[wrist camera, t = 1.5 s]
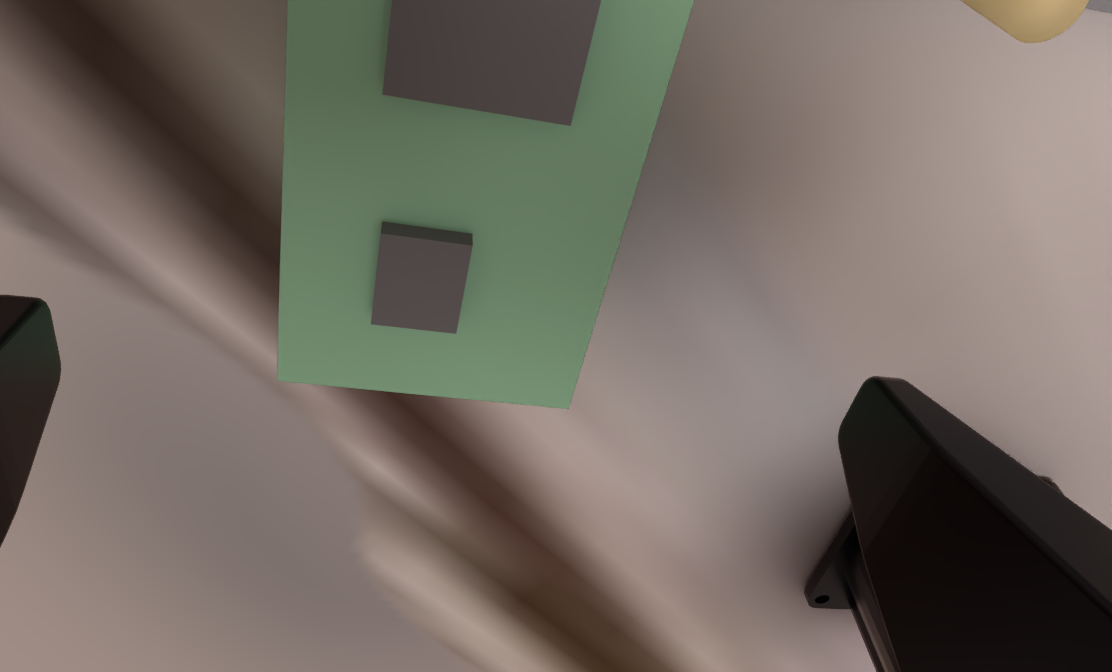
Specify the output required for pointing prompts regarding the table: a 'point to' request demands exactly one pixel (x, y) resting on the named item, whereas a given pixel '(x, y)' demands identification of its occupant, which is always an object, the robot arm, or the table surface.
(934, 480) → the robot arm
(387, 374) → the board
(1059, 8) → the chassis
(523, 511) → the table surface
